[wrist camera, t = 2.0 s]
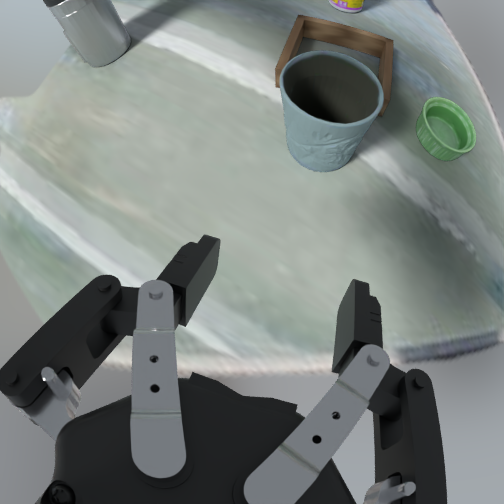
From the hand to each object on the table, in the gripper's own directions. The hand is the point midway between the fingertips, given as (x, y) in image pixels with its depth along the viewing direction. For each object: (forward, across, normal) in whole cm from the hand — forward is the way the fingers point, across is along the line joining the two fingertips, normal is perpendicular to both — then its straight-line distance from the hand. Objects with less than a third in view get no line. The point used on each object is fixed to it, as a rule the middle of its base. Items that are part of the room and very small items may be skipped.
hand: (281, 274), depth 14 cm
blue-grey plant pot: (+28, 0, +1) cm, 28 cm away
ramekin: (+34, -17, -5) cm, 38 cm away
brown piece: (+38, 0, -9) cm, 39 cm away
